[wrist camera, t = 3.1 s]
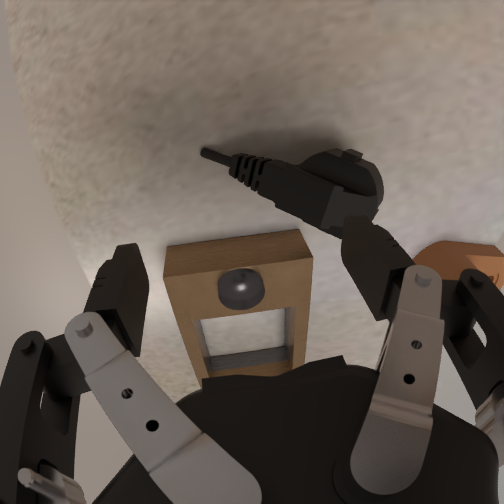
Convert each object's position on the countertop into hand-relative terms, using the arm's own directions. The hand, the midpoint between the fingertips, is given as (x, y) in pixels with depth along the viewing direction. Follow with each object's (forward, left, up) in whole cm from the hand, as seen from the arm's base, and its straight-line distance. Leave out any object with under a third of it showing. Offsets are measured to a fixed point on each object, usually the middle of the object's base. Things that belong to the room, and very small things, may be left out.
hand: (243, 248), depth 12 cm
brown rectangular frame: (+17, 0, -12) cm, 21 cm away
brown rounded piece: (+16, +26, -12) cm, 33 cm away
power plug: (0, 0, -14) cm, 14 cm away
